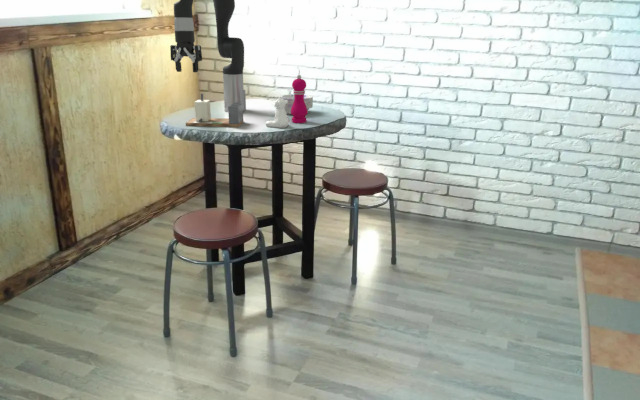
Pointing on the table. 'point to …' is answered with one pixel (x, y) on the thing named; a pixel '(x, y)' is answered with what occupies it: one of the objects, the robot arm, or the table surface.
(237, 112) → the grey rectangular block
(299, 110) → the pepper mill
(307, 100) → the paper bowls
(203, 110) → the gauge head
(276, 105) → the white creature statuette
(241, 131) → the table surface
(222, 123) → the brown wooden board
